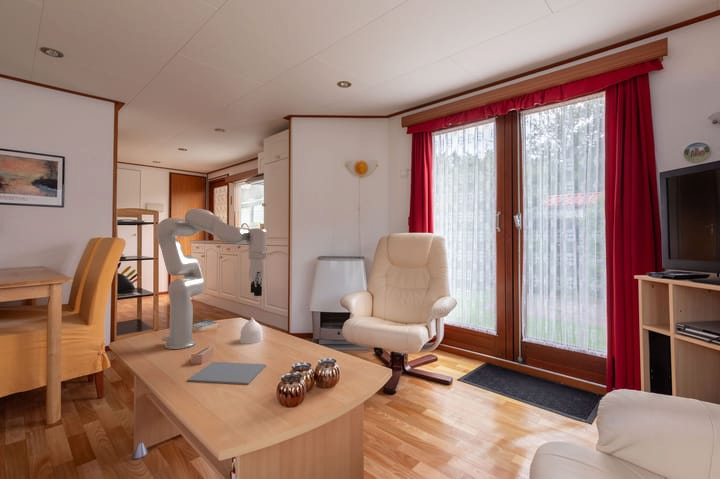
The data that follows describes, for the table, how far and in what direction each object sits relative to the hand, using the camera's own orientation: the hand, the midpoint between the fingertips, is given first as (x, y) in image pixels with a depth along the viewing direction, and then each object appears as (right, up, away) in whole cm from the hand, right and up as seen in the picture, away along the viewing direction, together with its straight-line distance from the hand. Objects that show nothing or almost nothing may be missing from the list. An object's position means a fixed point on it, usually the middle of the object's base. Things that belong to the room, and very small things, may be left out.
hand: (255, 294), depth 150 cm
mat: (-3, -26, -24) cm, 35 cm away
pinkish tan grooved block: (-19, -26, -11) cm, 34 cm away
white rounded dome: (-8, -26, +18) cm, 33 cm away
